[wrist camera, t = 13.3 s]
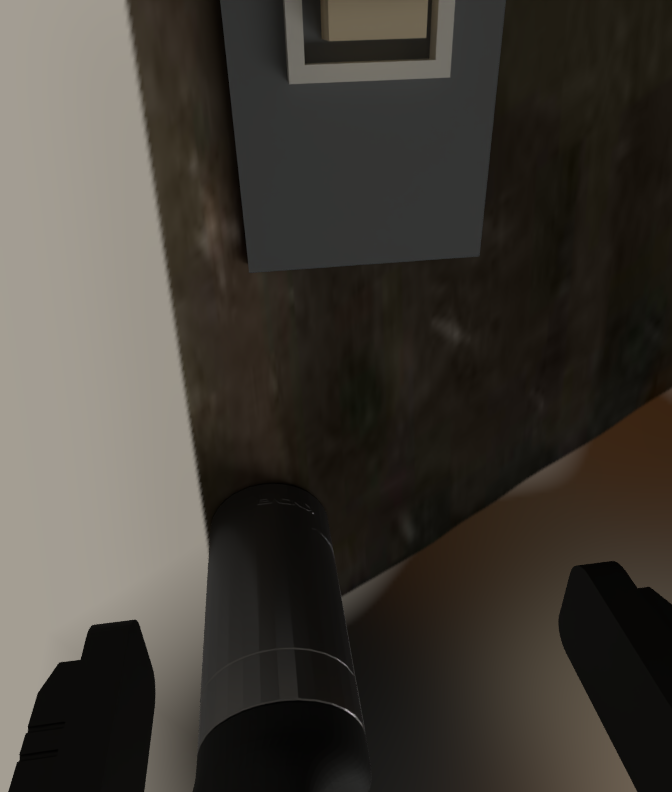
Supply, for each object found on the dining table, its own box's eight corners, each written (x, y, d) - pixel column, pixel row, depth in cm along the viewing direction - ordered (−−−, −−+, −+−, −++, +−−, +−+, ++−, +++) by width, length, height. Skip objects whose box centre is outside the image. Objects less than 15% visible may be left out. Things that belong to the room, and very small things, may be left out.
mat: (475, 251, 38) (479, 256, 37) (249, 268, 36) (249, 272, 36) (524, -247, 26) (531, -253, 25) (193, -251, 25) (192, -258, 24)
